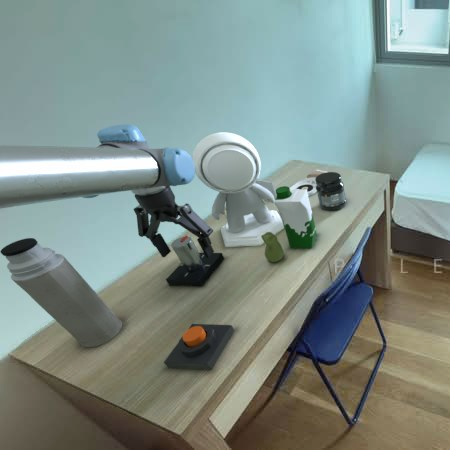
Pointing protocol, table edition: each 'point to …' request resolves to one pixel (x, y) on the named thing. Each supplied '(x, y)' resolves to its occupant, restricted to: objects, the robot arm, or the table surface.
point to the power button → (194, 336)
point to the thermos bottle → (61, 292)
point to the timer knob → (187, 253)
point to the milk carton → (296, 216)
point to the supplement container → (330, 191)
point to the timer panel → (195, 272)
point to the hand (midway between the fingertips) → (188, 254)
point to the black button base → (201, 349)
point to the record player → (308, 182)
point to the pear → (272, 247)
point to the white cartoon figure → (236, 188)
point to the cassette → (267, 186)
